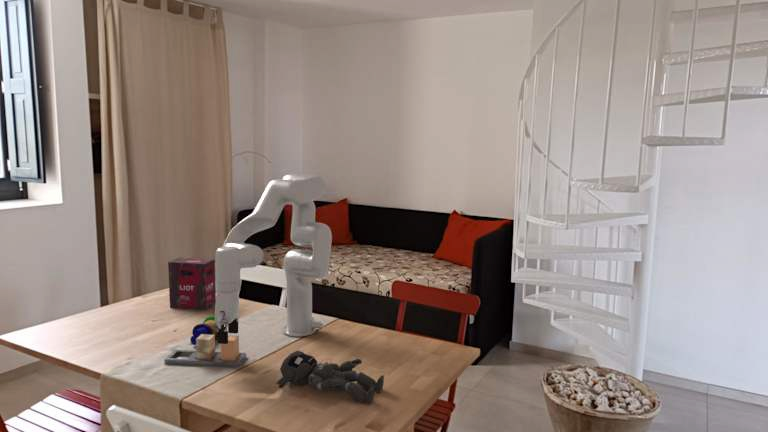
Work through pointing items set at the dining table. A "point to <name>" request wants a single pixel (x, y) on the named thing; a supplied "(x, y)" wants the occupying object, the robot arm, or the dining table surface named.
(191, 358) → the rail
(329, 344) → the dining table surface
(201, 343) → the beech block
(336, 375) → the robot
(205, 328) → the toy
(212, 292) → the box
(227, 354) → the terracotta block
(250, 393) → the dining table surface
